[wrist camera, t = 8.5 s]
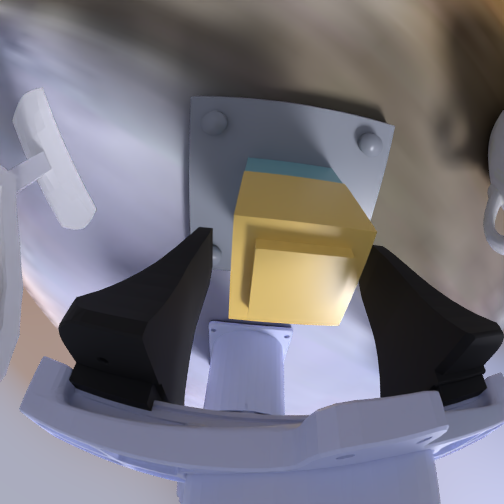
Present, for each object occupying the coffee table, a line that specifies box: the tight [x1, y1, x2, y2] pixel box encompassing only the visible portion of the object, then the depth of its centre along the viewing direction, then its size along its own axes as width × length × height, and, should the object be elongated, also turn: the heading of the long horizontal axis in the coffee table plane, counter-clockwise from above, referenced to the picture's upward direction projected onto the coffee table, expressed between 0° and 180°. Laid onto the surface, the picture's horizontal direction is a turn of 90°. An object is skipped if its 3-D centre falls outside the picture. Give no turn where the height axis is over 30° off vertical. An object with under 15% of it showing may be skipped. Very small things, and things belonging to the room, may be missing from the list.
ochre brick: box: [229, 171, 377, 326], centre depth 12 cm, size 5×5×5 cm
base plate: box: [189, 96, 395, 271], centre depth 16 cm, size 12×12×5 cm
